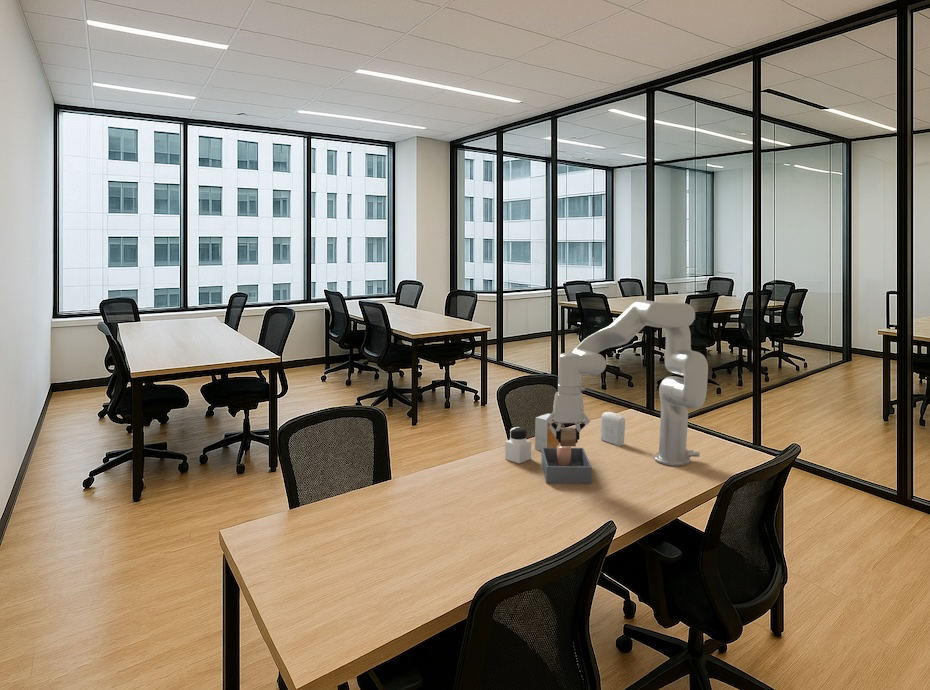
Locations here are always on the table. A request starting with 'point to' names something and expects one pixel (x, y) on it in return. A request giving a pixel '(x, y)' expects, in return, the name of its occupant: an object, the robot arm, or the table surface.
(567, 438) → the walnut cube
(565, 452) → the pink rounded block
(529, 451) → the medicine bottle
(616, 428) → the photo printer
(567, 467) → the tote
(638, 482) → the table surface
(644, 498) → the table surface
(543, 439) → the small box
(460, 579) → the table surface
